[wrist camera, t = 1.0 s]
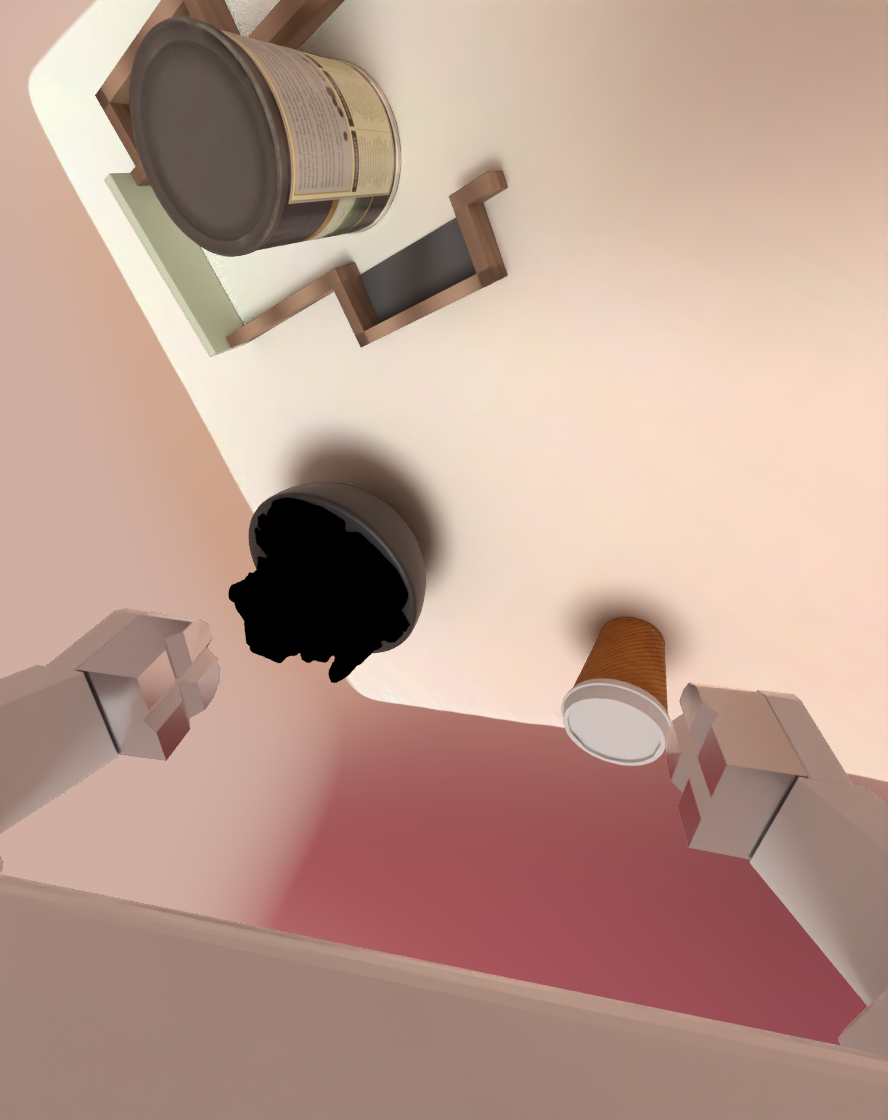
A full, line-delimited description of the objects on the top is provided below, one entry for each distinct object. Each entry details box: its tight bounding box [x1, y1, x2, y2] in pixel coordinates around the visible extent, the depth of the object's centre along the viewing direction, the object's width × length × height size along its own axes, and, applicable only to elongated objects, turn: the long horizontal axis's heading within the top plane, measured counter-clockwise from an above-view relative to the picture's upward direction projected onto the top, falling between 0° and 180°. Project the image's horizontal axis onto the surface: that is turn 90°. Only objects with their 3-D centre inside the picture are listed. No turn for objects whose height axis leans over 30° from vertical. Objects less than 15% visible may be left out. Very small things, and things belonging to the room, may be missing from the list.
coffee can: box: [129, 17, 401, 257], centre depth 34 cm, size 10×10×14 cm
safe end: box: [104, 173, 252, 357], centre depth 47 cm, size 1×15×5 cm, turn 26°
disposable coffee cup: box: [561, 618, 672, 765], centre depth 49 cm, size 10×10×12 cm
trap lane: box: [95, 0, 508, 348], centre depth 39 cm, size 29×25×3 cm
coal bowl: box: [229, 482, 426, 683], centre depth 53 cm, size 20×20×19 cm
